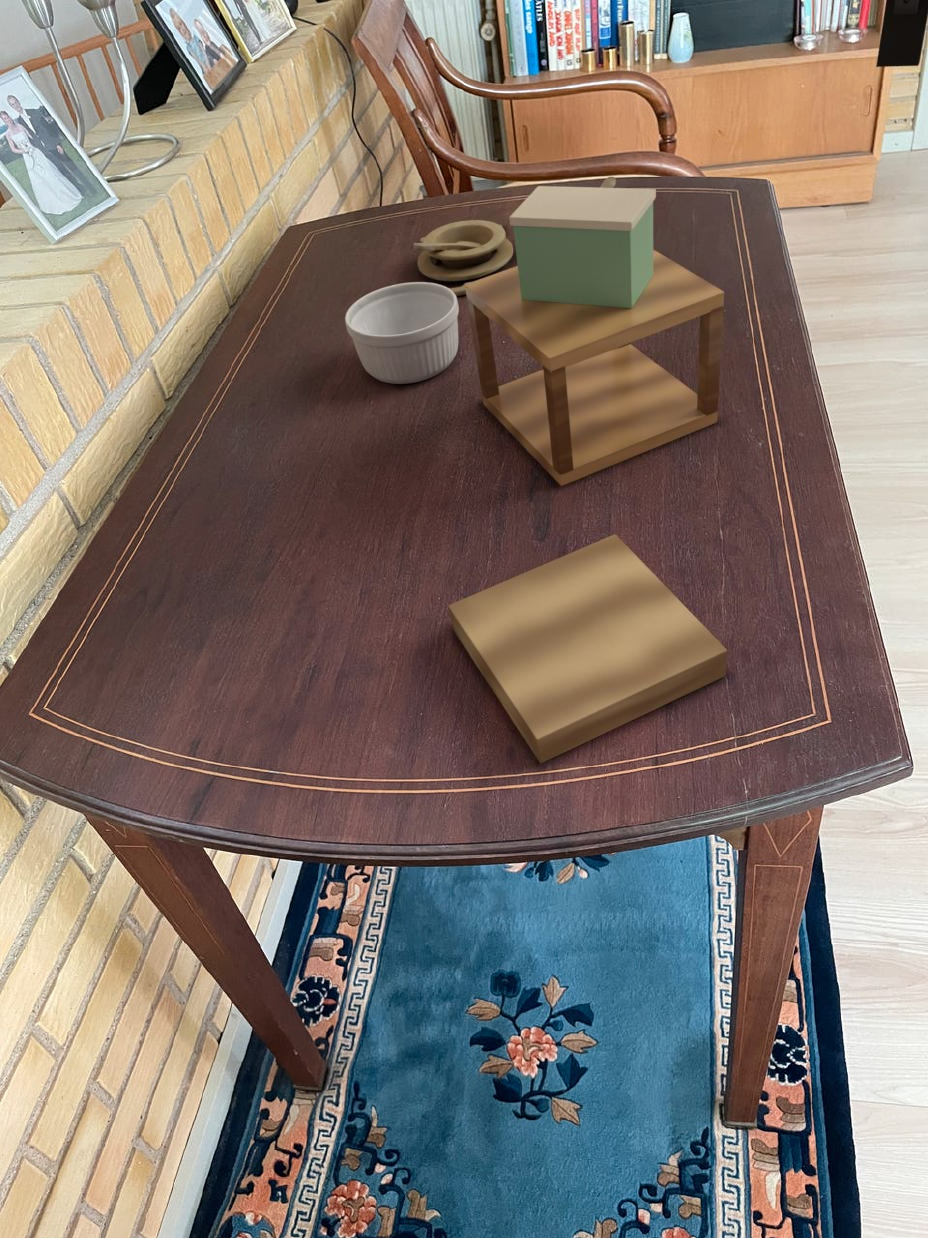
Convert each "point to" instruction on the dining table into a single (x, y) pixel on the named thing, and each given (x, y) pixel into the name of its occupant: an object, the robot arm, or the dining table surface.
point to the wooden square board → (585, 645)
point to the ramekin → (405, 331)
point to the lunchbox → (585, 245)
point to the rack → (597, 370)
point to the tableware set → (467, 249)
